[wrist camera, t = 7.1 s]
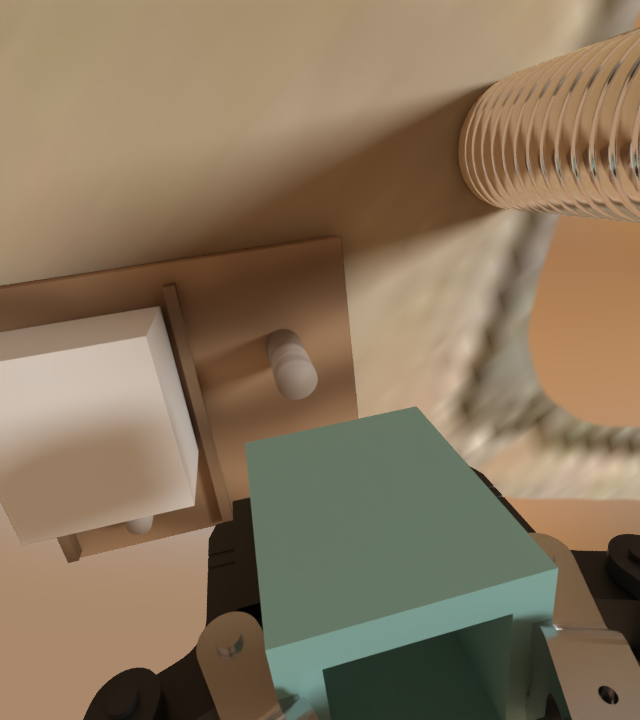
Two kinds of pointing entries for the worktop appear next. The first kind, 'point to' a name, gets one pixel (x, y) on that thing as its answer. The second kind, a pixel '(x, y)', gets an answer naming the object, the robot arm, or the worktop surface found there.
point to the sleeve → (392, 575)
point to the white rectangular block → (92, 425)
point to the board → (221, 358)
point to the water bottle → (561, 135)
